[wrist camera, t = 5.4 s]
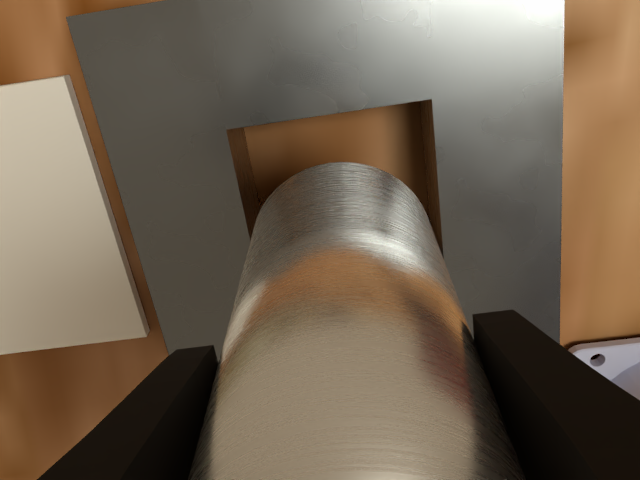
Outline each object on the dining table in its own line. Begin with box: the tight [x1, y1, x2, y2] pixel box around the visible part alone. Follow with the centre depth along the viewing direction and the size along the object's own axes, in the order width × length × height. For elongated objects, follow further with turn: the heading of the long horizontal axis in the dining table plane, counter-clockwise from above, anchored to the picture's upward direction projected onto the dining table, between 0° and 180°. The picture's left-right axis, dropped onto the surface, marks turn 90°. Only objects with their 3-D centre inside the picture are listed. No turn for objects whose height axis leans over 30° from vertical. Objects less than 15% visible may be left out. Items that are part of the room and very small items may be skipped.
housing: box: [66, 0, 565, 363], centre depth 17 cm, size 12×12×2 cm
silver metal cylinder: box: [188, 162, 526, 480], centre depth 9 cm, size 4×4×8 cm
